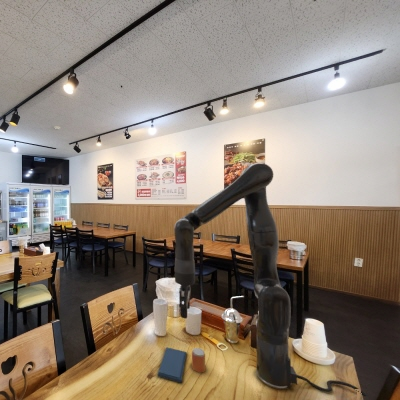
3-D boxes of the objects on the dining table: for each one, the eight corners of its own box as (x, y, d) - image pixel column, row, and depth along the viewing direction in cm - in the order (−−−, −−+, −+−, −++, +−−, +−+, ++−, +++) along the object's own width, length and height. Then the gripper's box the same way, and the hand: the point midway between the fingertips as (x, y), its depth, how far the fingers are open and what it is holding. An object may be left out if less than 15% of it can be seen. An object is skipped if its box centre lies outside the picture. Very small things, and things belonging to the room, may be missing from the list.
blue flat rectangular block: (186, 354, 92) (186, 351, 92) (181, 383, 77) (181, 379, 77) (166, 349, 95) (166, 346, 95) (157, 376, 80) (157, 372, 80)
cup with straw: (224, 332, 107) (224, 290, 108) (245, 339, 102) (245, 294, 102) (219, 341, 101) (218, 295, 101) (242, 349, 95) (241, 301, 96)
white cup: (203, 329, 110) (203, 309, 110) (199, 337, 103) (199, 315, 104) (187, 325, 114) (187, 305, 114) (182, 332, 108) (182, 311, 108)
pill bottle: (205, 365, 85) (205, 349, 86) (205, 373, 81) (204, 356, 81) (192, 362, 87) (192, 346, 87) (191, 370, 83) (191, 353, 83)
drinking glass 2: (166, 330, 110) (166, 298, 110) (168, 338, 103) (168, 304, 103) (152, 329, 110) (152, 298, 111) (153, 337, 104) (153, 304, 104)
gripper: (193, 276, 80) (194, 323, 79) (196, 266, 93) (197, 306, 93) (171, 274, 83) (172, 319, 82) (177, 265, 96) (178, 303, 95)
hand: (185, 312), depth 87 cm, fingers open, 8 cm apart
